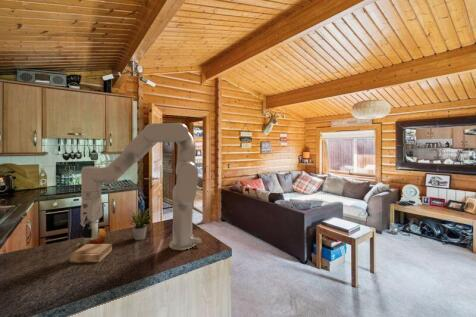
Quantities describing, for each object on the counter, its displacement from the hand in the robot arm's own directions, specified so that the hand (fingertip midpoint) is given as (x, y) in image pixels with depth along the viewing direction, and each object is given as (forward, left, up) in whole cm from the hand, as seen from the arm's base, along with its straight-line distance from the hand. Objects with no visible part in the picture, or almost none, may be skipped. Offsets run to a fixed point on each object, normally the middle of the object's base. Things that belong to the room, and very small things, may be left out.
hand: (91, 234), depth 109 cm
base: (0, 0, -10) cm, 10 cm away
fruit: (+5, -15, -10) cm, 19 cm away
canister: (0, 0, -1) cm, 1 cm away
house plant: (-15, -22, -10) cm, 29 cm away
